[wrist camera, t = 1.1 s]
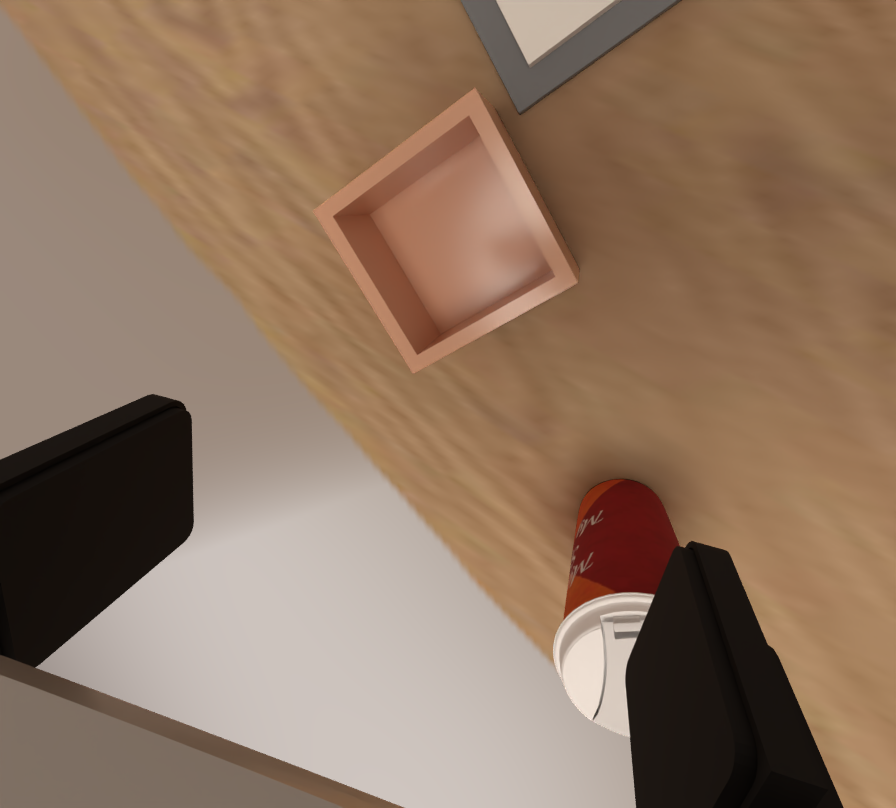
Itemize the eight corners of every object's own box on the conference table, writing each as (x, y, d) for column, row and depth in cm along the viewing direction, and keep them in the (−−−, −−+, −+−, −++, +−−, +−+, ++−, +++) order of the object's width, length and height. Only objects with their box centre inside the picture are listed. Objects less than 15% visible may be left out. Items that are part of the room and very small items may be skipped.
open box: (495, 109, 29) (475, 87, 24) (579, 269, 31) (578, 282, 26) (357, 209, 33) (312, 210, 28) (439, 347, 35) (412, 374, 30)
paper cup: (552, 473, 36) (534, 619, 23) (672, 455, 34) (724, 607, 21) (576, 569, 38) (571, 750, 26) (690, 559, 36) (748, 753, 23)
